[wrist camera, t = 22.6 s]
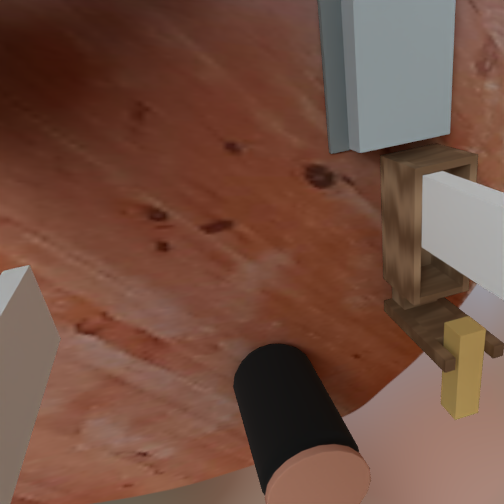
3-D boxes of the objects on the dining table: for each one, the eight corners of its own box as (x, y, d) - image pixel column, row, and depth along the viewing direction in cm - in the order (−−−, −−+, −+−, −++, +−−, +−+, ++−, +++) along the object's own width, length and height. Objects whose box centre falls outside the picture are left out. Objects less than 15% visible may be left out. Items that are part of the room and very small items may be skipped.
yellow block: (444, 322, 47) (460, 336, 45) (468, 315, 48) (485, 329, 45) (440, 403, 53) (455, 420, 50) (462, 396, 53) (478, 412, 51)
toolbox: (380, 155, 49) (454, 183, 37) (435, 143, 50) (525, 167, 38) (384, 310, 58) (444, 372, 46) (431, 297, 59) (502, 355, 47)
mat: (315, -29, 40) (317, -31, 39) (441, -48, 42) (445, -49, 41) (329, 152, 47) (331, 153, 47) (436, 130, 49) (439, 130, 48)
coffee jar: (233, 411, 59) (267, 542, 42) (229, 346, 54) (265, 465, 38) (308, 396, 61) (367, 516, 44) (309, 333, 56) (376, 440, 40)
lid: (332, -27, 40) (351, -36, 36) (430, -41, 41) (457, -51, 38) (343, 146, 47) (360, 153, 43) (427, 128, 48) (450, 133, 44)
